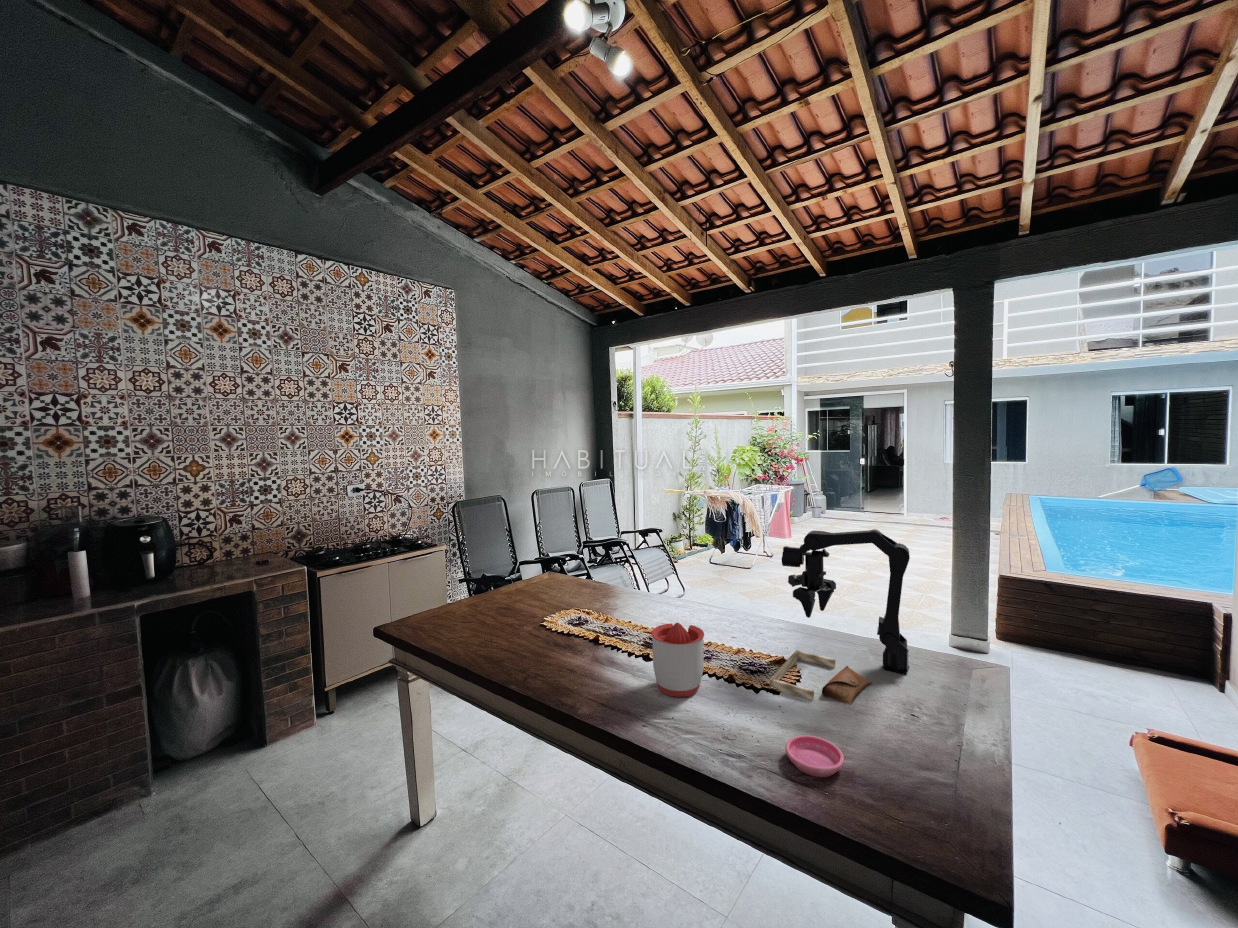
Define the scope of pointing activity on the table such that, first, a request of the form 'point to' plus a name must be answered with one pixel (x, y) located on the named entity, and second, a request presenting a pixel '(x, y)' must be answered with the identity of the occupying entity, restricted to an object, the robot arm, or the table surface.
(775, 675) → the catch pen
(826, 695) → the sunglasses case
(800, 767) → the saucer
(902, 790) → the table surface
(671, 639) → the citrus juicer
